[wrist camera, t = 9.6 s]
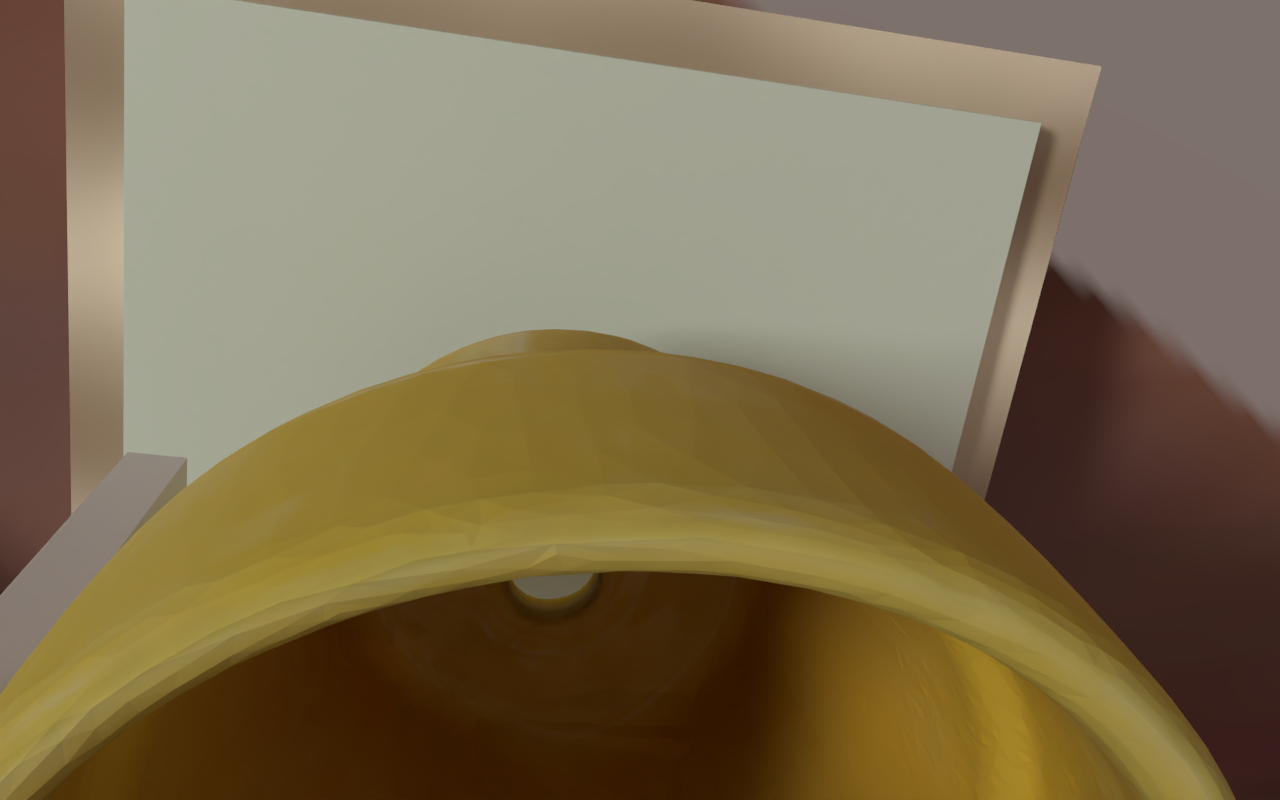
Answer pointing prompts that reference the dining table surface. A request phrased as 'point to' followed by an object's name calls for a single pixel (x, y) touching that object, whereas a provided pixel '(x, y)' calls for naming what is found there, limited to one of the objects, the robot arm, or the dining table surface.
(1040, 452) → the dining table surface
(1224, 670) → the dining table surface
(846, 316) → the plinth
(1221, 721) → the dining table surface
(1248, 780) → the dining table surface
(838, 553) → the plant pot
